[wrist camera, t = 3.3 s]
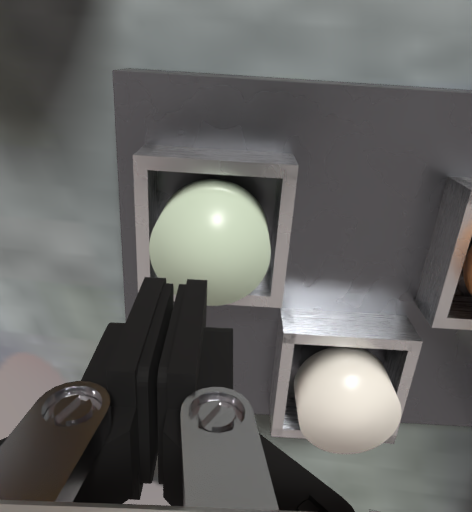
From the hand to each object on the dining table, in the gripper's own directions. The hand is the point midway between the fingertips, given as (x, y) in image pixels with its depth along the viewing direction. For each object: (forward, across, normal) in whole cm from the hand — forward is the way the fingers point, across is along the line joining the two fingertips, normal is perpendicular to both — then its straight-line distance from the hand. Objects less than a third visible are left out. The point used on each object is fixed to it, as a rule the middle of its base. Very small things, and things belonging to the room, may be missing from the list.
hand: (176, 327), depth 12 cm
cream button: (+6, -7, +6) cm, 11 cm away
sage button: (+6, -1, -1) cm, 6 cm away
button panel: (+10, -7, +2) cm, 12 cm away
